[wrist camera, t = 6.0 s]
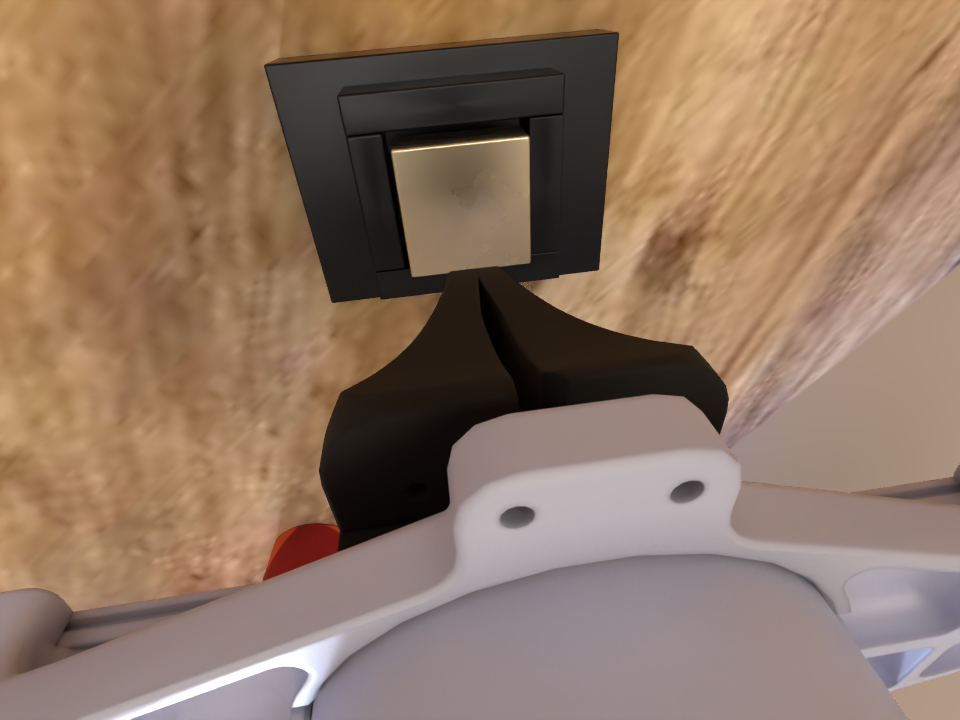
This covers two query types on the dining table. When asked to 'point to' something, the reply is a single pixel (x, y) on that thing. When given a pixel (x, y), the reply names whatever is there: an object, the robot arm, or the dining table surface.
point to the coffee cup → (302, 548)
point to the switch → (464, 198)
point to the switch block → (438, 109)
